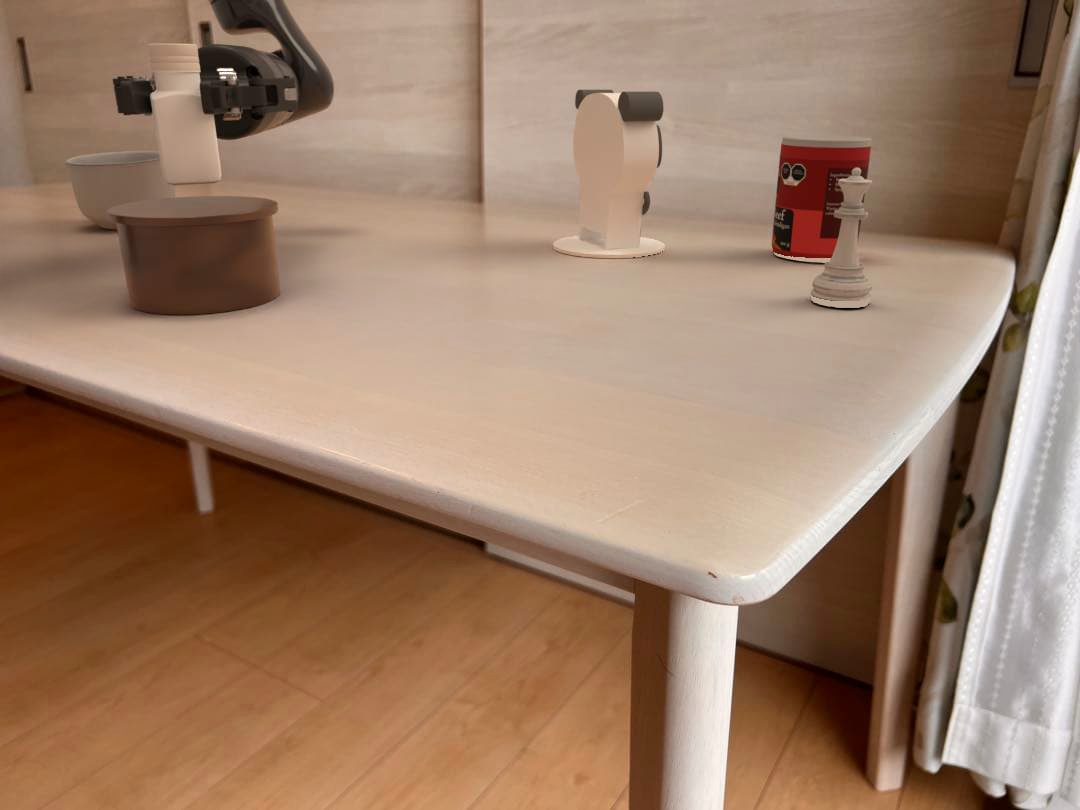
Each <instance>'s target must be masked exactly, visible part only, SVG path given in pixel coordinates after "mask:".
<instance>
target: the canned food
mask: <svg viewBox="0 0 1080 810" xmlns="http://www.w3.org/2000/svg"><path fill="white" fill-rule="evenodd" d="M781 139H782V140H781V144H780V145H781V146H780V153H779V162H778V173H777V181H776V182H777V184H776V193H775V204H774V214H773V225H772V234H771V235H772V237H771V249H772V253H773V252H775V253H777V254H781V255H784V256H791V257H792V256H793V257H805V258H832V256H833V253H834V250H835V247H836V244H837V241H838V237H839V232H840V227H841V221H842V219H841V218H837V217H834V211H835V210H839V208H840V207H842V206H841V203H842V202H844V194H843V192H842V189H841V187H840V185H839V184H838V180H839V179H847V178H848V177H849V176H852V170H853V169H854V168H860V169H861V174H860V176H861V177H863V178H864V179H866V180H868V176H869V175H868V174H869V167H870V159H871V151H872V138H870V137H866V136H855V135H835V134H828V135H827V134H792V135H785V136H783V137H782V138H781ZM865 196H866V192H865V193H864V195H863V198H862V202H861V203H863V204H864V202H865ZM862 208H864V206H863V207H862ZM861 223H862V219H859V224H858V236H857V244H858V245H859V239H860V231H861V225H862V224H861Z"/></svg>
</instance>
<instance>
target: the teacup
mask: <svg viewBox="0 0 1080 810" xmlns="http://www.w3.org/2000/svg"><path fill="white" fill-rule="evenodd" d="M64 162H65V165H66V167H67V169H68V174H69V178H70V182H71V183H70V184H71V186H72V189H73V193H74V197H75V201H76V204H77V206H78V209H79V211H80V212H81V214H82V215H83V216H84V217H85V218H86V219H88V220H89V221H91V222H93V223H95V224H96V225H98V226H99V228H102V229H105V230H115V231H118V230H117V225H116V223H115V222H111V221H110V220H109V219H108V217H107V210H108V209H109V208H111V207H114V206H117V205H121V204H125V203H131V202H137V201H145V200H153V199H164V198H176V185H171V184H168V183H167V182H166V181H165V179H164V177H163V175H162V170H161V164H160V158H159V151H158V150H124V151H111V152H109V151H107V152H98V153H89V154H88V153H87V154H80V155H77V156H73V157H70V158H68V159H66V160H65V161H64Z"/></svg>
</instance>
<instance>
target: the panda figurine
mask: <svg viewBox="0 0 1080 810" xmlns="http://www.w3.org/2000/svg"><path fill="white" fill-rule="evenodd" d="M574 105H575V109H576V110H577V111H576V118H575V123H574V129H573V141H572V144H573V145H572V146H573V147H572V148H573V160H574V161H573V162H574V167H575V171H576V175H577V177H578V180H579V212H578V235H573V236H567V237H562V238H558V239H556V240H554V241H553V242H552V248H553V250H554V251H556V252H558V253H561V254H565V255H569V256H573V257H574V256H575V257H583V258H593V259H633V257H635V258H643V257H642V256H645V257H649V256H648V255H651V256H654V255H653V254H656V255H658V254H657V253H659V254H661V253H663V252H665V251H666V244H665V243H664V242H662V241H660V240H658V239H654V238H649V237H644V236H641V231H642V216H645V215H646V214H647V213H648V211H649V210H650V205H651V196H650V192H649V191H647V190H648V189H649V187H650V185H651V184H652V182H653V179H654V177H655V174H656V172H657V169H658V168H660V166H661V163H662V157H663V138H662V132H661V127H660V126H659V125H658V124H657V122H659V121H661V119H662V117H663V114H664V100H663V95H662V94H661V93H660V92H659V91H622V92H614V90H613V89H578V90H577V91H576V92H575V98H574ZM662 251H663V252H662ZM660 252H661V253H660Z"/></svg>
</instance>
